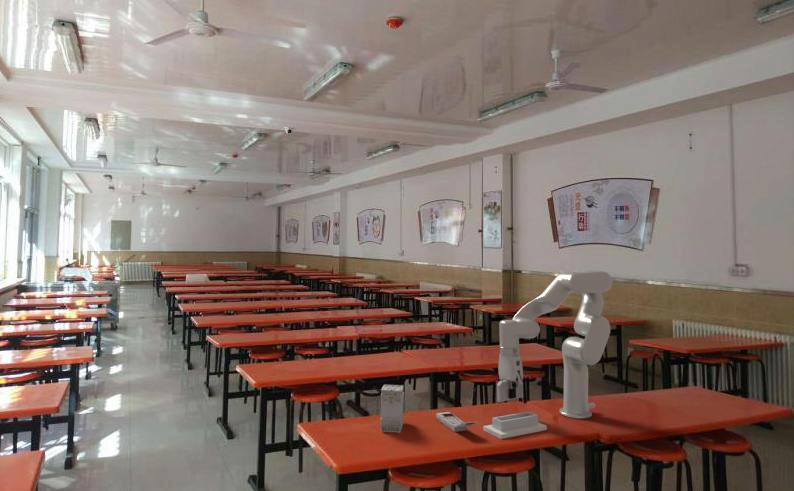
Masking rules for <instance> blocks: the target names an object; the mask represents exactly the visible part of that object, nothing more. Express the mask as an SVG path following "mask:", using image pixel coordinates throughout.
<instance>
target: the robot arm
mask: <svg viewBox="0 0 794 491" xmlns="http://www.w3.org/2000/svg"><path fill="white" fill-rule="evenodd" d="M612 286H613V278H612V276H611V275H610V274H609V273H608V272H606V271H601V270H582V271H580V272H579V271H578V272H576V271H562V272H560V273H559V274H557V276H555V278H554V279H553V280H552V281H551V282H550V284H549V285H548V286H547V287H546V288H545V289H544V290H543V292H542V293H541V294H540V295H538V296H537V297H536V298H534V299H532V300H531V301H529V302H528V303H525V305H523V306H522V307H521V308H520V309H519V310H518V311H517V312H516V314H515V315H514V316H513V318H512V319H502V320H500V321H499V323H498V324H499V328H498V329H499V330H498V331H499V332H498V333H499V355H498V356H499V357H498V364H497V365H498V368H497V369H498V376H499V377H498V378H499V380H500V381H503V380H509V381H510V388H509V399H512V400H514V399H513V398H516V388H517V386H518V385H521V384H522V383H521V380H522V381H523V380H524V371H523V370H524V369H523V361H522V356H521V355H520V354H521V353H520V352H521V351H520V339H534V338H536V337H538V335H539V334H540V331H541V328H540V325H539V323H538V322H537V321H535V320H536V318H538V317H540V316H542V315H545V314H548V313H552V312H554V311H556V310H557V309H559V307H560V306H561V305H562V304H563V303H564V302H565V301H566V299H567V298H568V297H569V295H570V294H572V293H573V294H577V295H578V294H580V295H582V298H581V304H580V306H579V309H578V312H577V315H576V317H575V320H574V323H573V329H574V331H575V332H576V333H577V334H578V335H580V336H583V337H584V338H581V337H577V336H571V337H567V338H566V339H564V341H563V342H562V345H561V354H562V359H563V406H562V407H560V408H559V413H560V414H561V415H562V416H565V417H567V418H572V419H578V420H579V419H580V420H581V419H590V418H591V417H592V416H593V415H592V414H593V413H592V411H590V410H591V409H594V408H596V404H595V403H594V402H589V367H588V366H593V365H596V364H597V363H598V362H600V360H601V358H602V356H603V355H604V351H605V348H606V346H607V343H608V341H609V337H610V335H611V324H610V322H609V320H608V319H607V318H606V317H604V316H602V313H603V309H604V304H605V303H604V297H603V294H602V293H605V292H607V291H609V290H610V289H611V288H612ZM513 382H514V383H513Z"/></svg>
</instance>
